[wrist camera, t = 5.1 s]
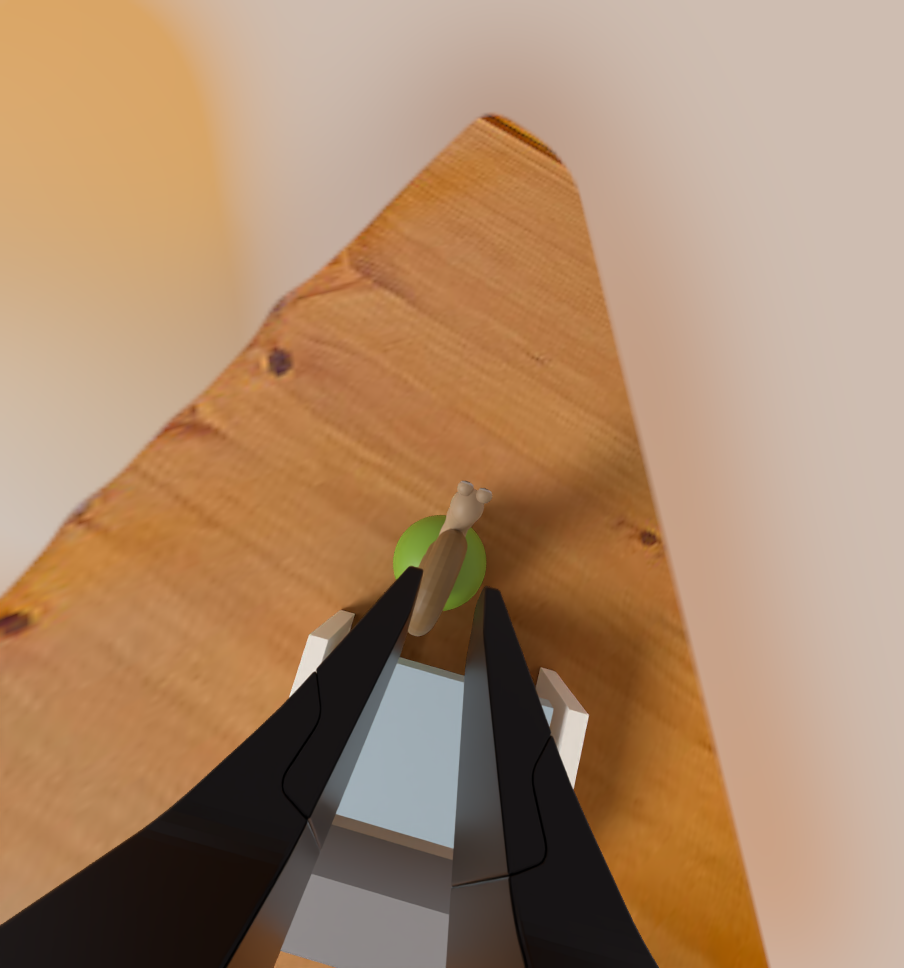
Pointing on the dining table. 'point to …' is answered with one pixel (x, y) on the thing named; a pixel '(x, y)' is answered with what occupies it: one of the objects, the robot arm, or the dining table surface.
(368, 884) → the trapdoor
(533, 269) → the dining table surface
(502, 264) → the dining table surface
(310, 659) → the frame
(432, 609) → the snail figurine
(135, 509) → the dining table surface
